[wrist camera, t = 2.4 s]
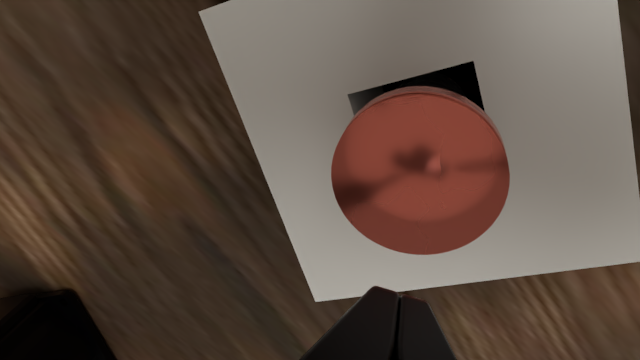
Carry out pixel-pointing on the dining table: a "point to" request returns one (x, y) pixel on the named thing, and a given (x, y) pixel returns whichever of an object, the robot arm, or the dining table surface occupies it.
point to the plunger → (421, 168)
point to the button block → (499, 104)
